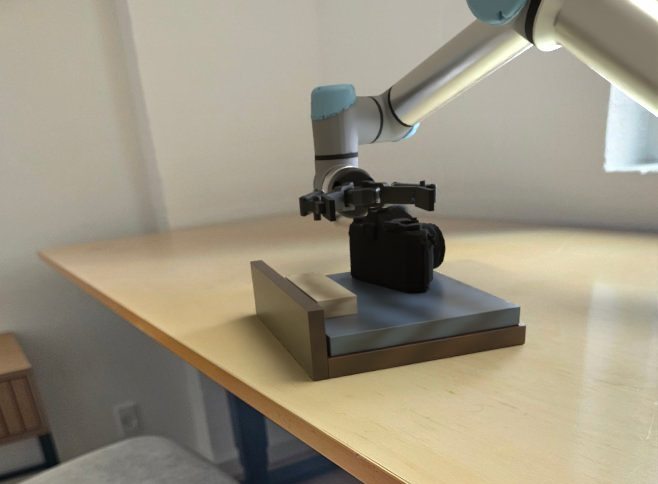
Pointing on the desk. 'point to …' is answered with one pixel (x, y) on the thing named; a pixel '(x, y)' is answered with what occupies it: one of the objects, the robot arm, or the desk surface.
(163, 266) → the desk surface
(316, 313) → the bed
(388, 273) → the film camera
